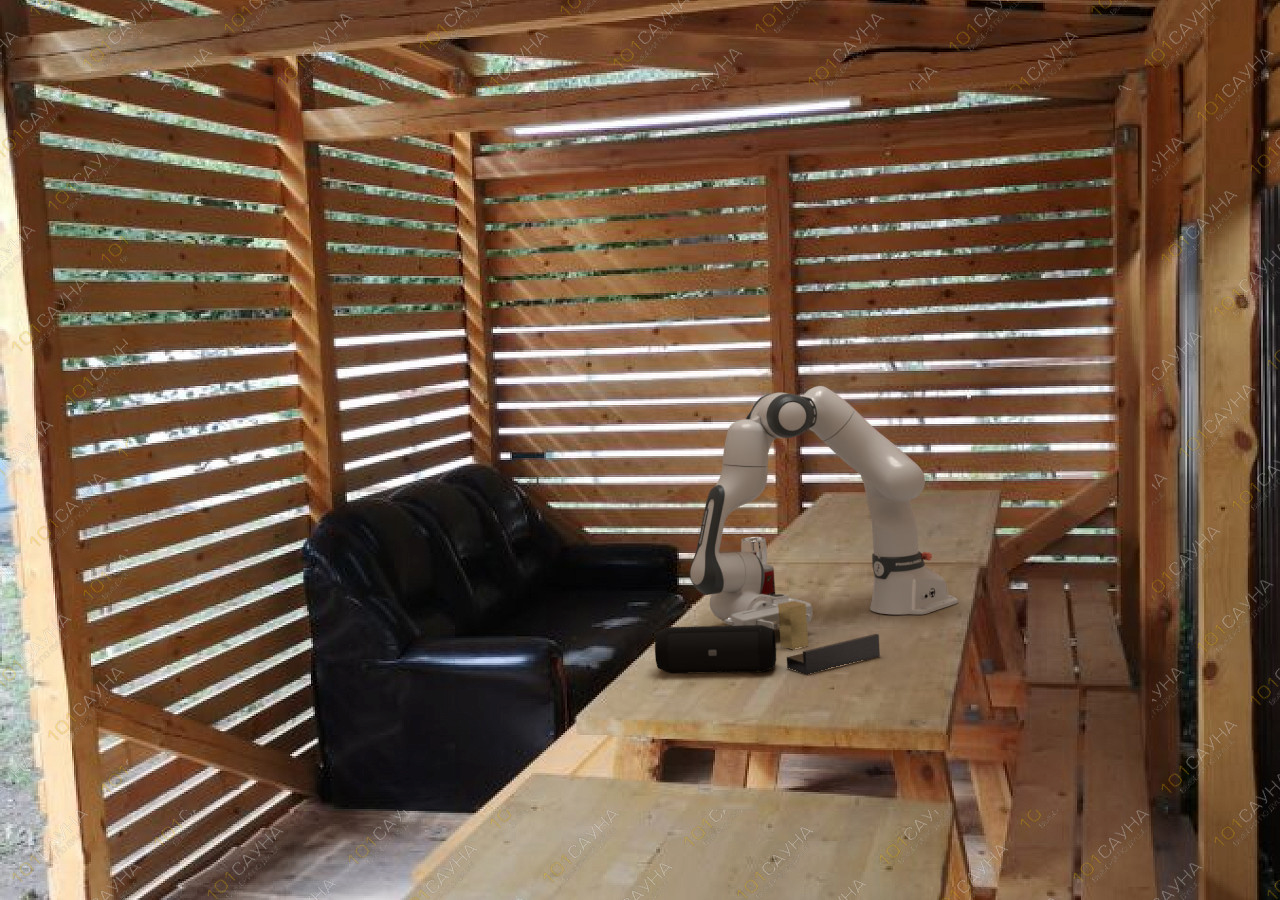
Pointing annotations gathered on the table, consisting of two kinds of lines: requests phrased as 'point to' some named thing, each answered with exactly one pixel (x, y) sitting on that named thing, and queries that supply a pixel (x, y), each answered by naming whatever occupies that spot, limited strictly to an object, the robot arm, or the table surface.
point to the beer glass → (755, 547)
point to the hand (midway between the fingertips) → (791, 622)
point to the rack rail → (835, 654)
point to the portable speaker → (715, 649)
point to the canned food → (768, 580)
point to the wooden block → (793, 624)
